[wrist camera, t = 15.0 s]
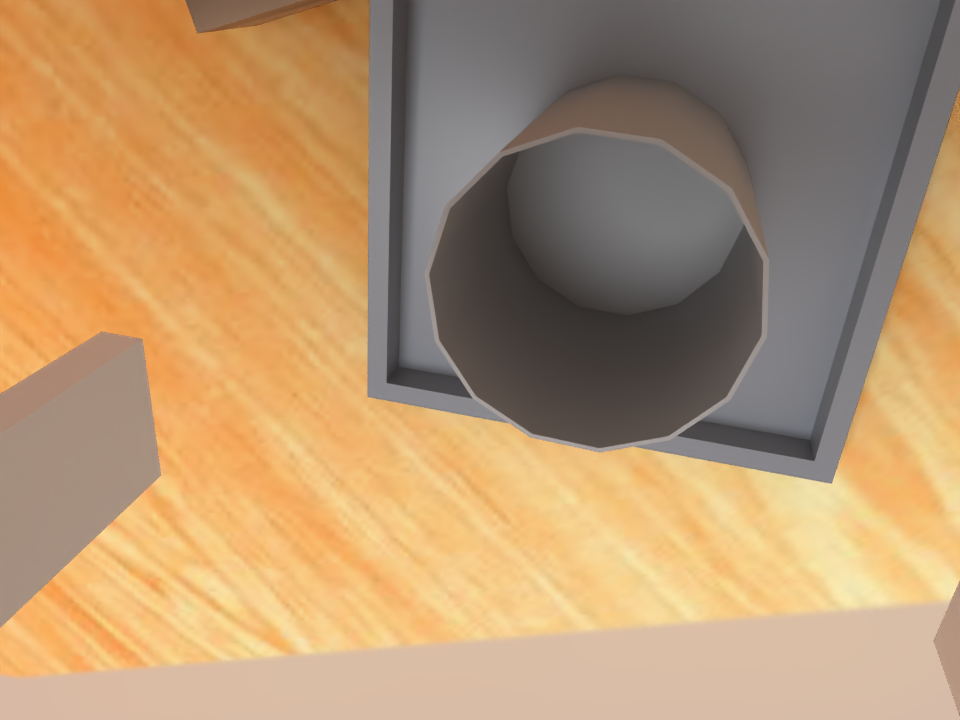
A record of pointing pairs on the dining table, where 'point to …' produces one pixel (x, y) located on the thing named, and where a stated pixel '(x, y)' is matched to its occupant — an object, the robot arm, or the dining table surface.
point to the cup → (605, 269)
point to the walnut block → (243, 12)
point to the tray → (758, 134)
